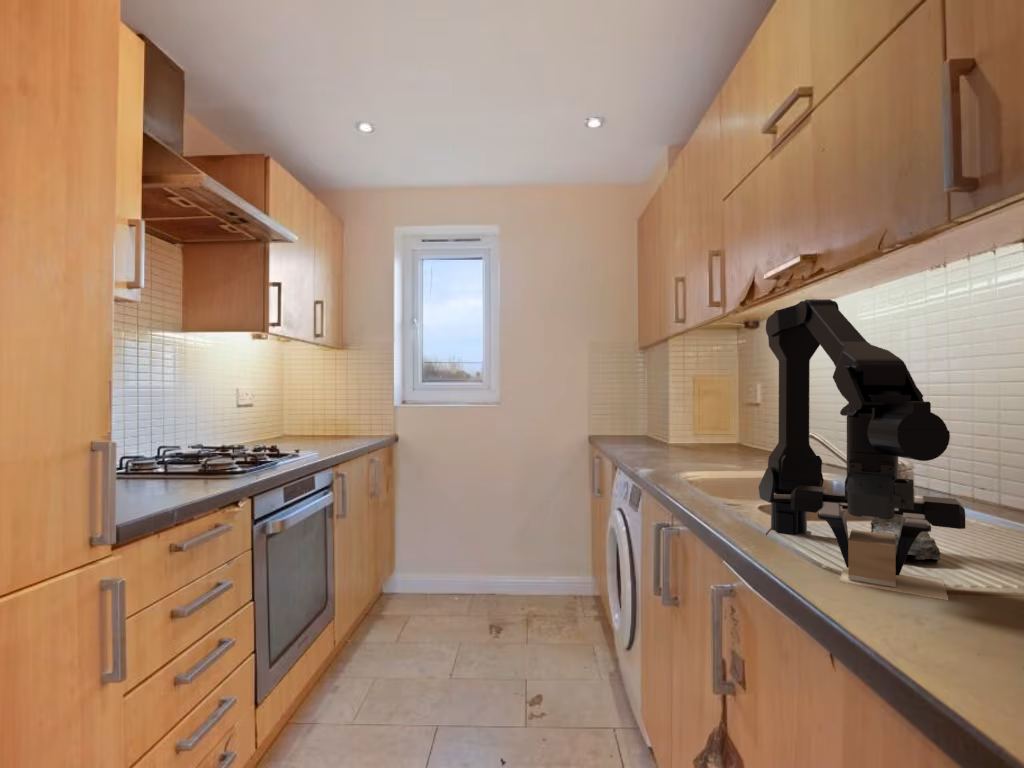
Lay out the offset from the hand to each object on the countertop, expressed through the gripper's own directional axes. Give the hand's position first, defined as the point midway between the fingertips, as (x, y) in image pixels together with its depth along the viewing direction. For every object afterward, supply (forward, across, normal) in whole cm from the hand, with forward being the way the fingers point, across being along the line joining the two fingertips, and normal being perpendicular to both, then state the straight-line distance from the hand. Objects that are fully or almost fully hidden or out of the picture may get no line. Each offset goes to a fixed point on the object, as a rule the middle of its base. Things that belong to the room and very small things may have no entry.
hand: (872, 570), depth 73 cm
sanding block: (+1, 0, 0) cm, 1 cm away
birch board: (+2, +2, 0) cm, 3 cm away
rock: (+2, +3, +15) cm, 16 cm away
